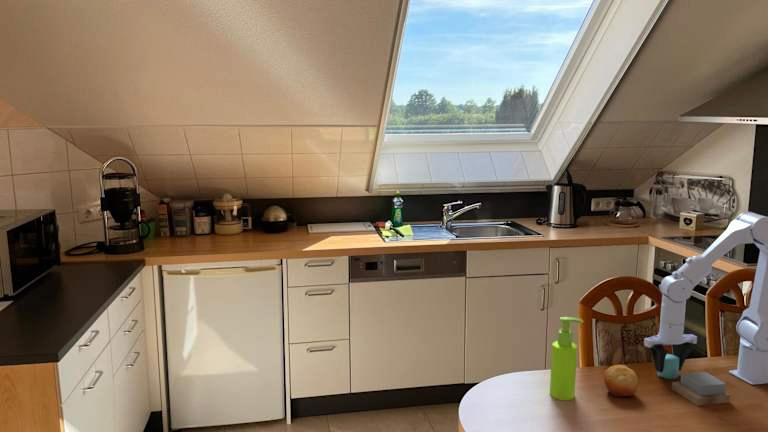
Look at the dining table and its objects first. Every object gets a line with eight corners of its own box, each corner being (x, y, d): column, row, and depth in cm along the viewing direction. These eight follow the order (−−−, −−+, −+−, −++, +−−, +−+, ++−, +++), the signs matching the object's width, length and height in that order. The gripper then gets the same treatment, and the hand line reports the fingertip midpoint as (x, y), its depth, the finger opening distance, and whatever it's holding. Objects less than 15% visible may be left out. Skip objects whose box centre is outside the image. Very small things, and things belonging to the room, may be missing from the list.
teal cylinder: (669, 370, 161) (671, 353, 160) (682, 378, 156) (683, 360, 156) (653, 372, 160) (654, 354, 159) (665, 379, 155) (667, 362, 155)
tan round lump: (629, 378, 153) (636, 360, 148) (636, 405, 147) (644, 387, 142) (597, 377, 154) (603, 358, 149) (603, 404, 148) (609, 385, 143)
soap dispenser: (580, 401, 143) (584, 323, 140) (550, 399, 145) (554, 321, 141) (577, 391, 149) (581, 315, 146) (549, 388, 150) (552, 313, 147)
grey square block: (705, 381, 151) (705, 371, 150) (725, 393, 144) (726, 383, 143) (680, 383, 149) (681, 373, 149) (699, 395, 143) (700, 386, 142)
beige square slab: (702, 388, 152) (703, 379, 152) (729, 404, 143) (729, 394, 143) (671, 391, 150) (672, 382, 150) (696, 408, 142) (697, 398, 141)
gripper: (685, 314, 161) (681, 361, 163) (638, 318, 158) (634, 366, 161) (704, 323, 154) (699, 372, 157) (655, 327, 152) (651, 377, 154)
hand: (668, 370), depth 158 cm, fingers closed on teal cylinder, 5 cm apart
